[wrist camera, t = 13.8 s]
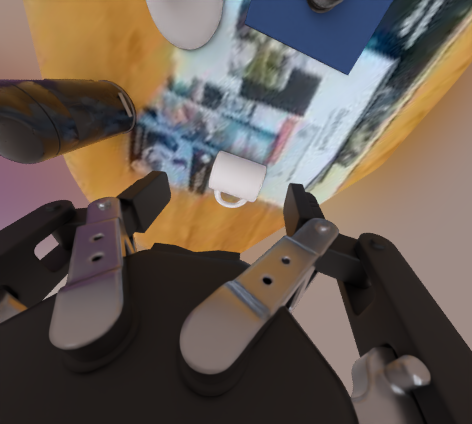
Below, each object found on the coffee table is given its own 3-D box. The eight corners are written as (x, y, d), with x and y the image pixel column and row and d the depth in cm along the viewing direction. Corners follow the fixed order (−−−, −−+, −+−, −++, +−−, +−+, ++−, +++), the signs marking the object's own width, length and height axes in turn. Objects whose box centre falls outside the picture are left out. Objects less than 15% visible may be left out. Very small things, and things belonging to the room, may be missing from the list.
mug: (223, 145, 38) (214, 157, 32) (266, 160, 39) (266, 176, 33) (211, 191, 45) (202, 209, 39) (248, 204, 46) (245, 223, 40)
